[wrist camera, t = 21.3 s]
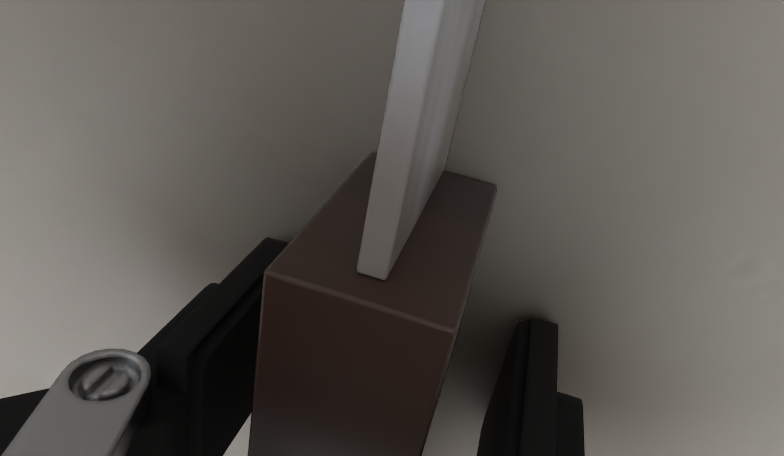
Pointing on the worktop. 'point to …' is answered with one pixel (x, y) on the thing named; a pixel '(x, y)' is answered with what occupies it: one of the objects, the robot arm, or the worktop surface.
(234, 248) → the worktop surface
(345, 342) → the knife
